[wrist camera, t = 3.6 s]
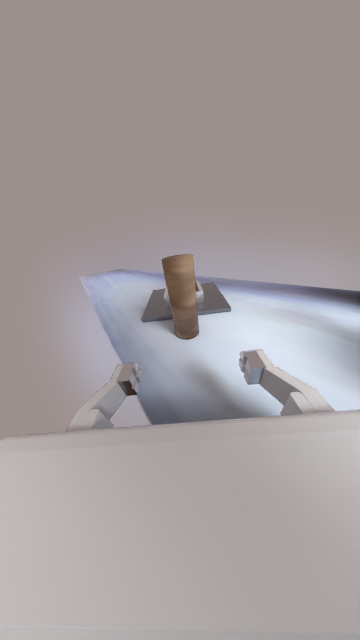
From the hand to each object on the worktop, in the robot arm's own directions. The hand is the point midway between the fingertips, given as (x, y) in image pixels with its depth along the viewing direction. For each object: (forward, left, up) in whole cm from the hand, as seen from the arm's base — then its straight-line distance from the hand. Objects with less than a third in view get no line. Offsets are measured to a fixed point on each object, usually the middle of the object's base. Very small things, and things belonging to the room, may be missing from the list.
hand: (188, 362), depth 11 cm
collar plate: (0, -25, -6) cm, 25 cm away
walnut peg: (0, -12, -6) cm, 13 cm away
